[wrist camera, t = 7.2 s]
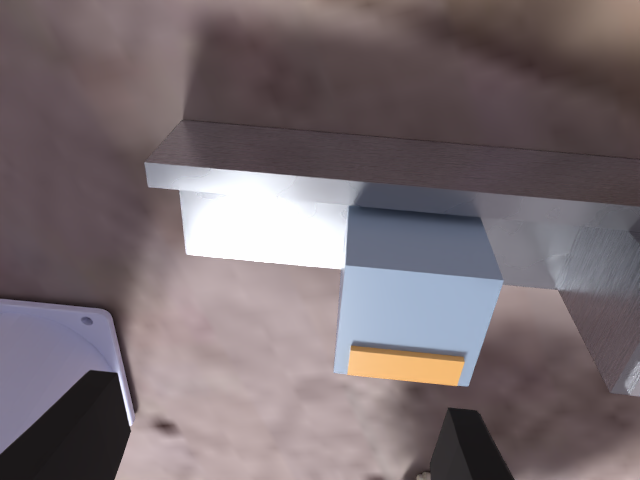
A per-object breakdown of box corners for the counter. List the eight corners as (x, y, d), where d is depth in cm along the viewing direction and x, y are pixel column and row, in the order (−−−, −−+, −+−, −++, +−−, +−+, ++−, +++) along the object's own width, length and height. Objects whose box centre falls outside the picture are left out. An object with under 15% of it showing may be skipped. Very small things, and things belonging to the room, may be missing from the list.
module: (340, 272, 19) (333, 378, 15) (350, 177, 17) (345, 269, 12) (445, 282, 19) (469, 392, 15) (469, 188, 17) (505, 285, 12)
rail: (193, 240, 20) (133, 354, 15) (182, 120, 17) (102, 209, 12) (649, 283, 19) (751, 417, 14) (713, 165, 17) (869, 279, 11)
